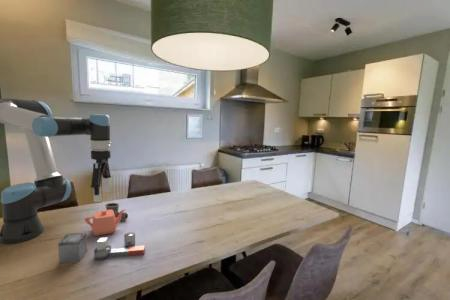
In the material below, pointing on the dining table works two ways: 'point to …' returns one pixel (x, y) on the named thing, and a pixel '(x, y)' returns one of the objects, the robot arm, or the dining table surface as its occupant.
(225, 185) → the dining table surface
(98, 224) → the teapot
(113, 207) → the pipe
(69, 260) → the grey square box
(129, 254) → the ratchet
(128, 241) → the socket
